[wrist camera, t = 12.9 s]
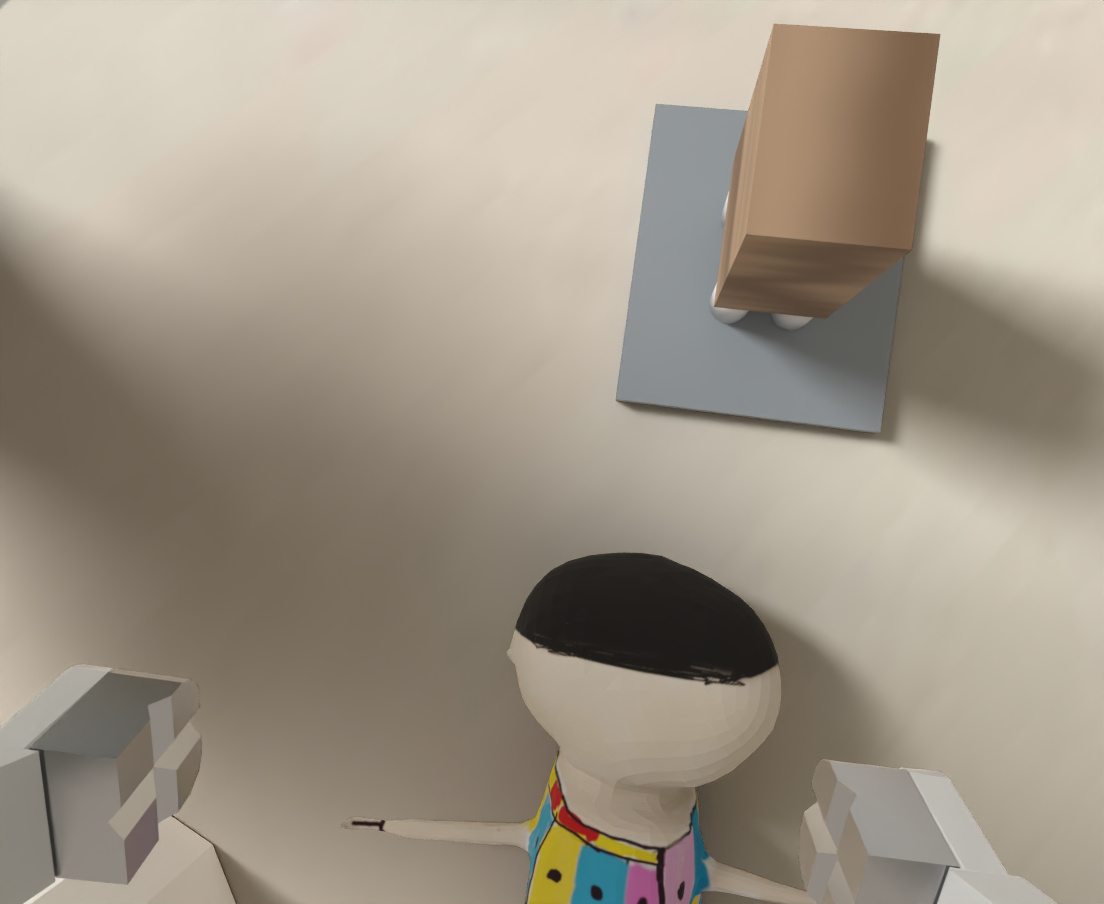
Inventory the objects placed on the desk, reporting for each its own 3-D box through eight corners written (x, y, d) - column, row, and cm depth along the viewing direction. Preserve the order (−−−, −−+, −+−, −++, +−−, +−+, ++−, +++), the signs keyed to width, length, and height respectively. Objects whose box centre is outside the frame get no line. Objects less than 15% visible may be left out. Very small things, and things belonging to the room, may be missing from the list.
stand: (616, 400, 37) (612, 390, 32) (655, 113, 37) (657, 59, 32) (873, 433, 36) (911, 428, 31) (913, 134, 36) (957, 80, 31)
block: (713, 306, 32) (746, 234, 22) (732, 162, 32) (773, 23, 22) (825, 318, 31) (911, 249, 21) (845, 172, 31) (940, 34, 21)
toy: (817, 1204, 36) (898, 575, 34) (853, 1452, 27) (964, 626, 26) (361, 1074, 40) (413, 510, 39) (267, 1252, 32) (329, 535, 30)
